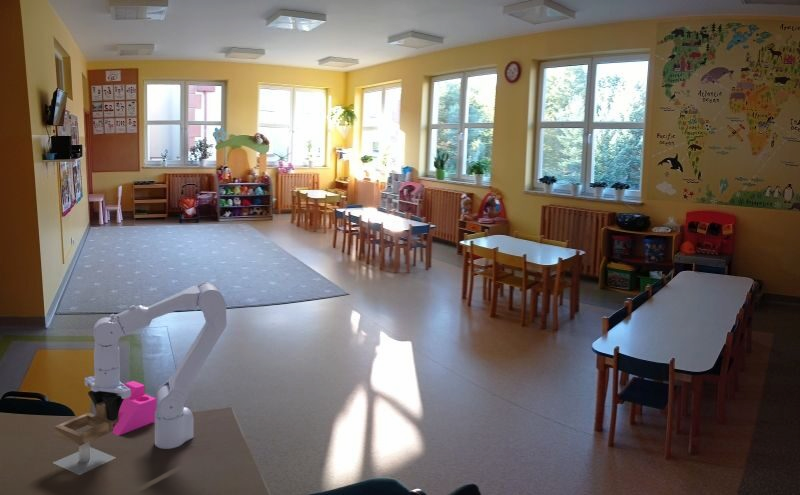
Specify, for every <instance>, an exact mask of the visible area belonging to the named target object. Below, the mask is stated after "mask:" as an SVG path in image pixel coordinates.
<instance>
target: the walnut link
mask: <svg viewBox="0 0 800 495" xmlns="http://www.w3.org/2000/svg"><path fill="white" fill-rule="evenodd" d="M95 411H96V414H93V413H91V412H86V413H84V414H82V415H79V416H77V417H74V418H72V419H69V420H67V421H64V422H62V423H60V424H57V425H55V426H54V437H55V438H59V439H62V440H64V441H65V442H66V441H67V442H68V443H71V444H73V445H75V446H78V447H79V446H81V445H84V444H86V443H88V442H90V443H91V442H92V441H94V440H96V439H98V438H101V437H103V436H106V435H108V434H110V433H112V431H113V428H114V425H116V424H117V422H119V413H118V417H117V420H114V421H110V420H108V419H107V411H106V406H105V403H104V401H103V402H100V403H98V404H96V408H95ZM115 423H116V424H115ZM86 426H90V427H91V428H88V429H86V430H85V431H84V430H83V431H82V432H80V431H78V430H79V429H82V428H84V427H86Z"/></svg>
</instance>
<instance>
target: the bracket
mask: <svg viewBox="0 0 800 495" xmlns="http://www.w3.org/2000/svg"><path fill="white" fill-rule="evenodd" d="M123 384H124V385H125V386H126V387H127V388H129V389H131V396H130V397H128V398H125V399H124V400H123V402H122V404H121V407H120V409H119V422H117V423H115V424H114V425H113V431H112V432H111V434H114V435H116V436H118V437H119V436H121V435H123V434H126V433H130V432H132V431H134V430H137V429H140V428H143V427H144V426H147V425H149V424H150V425H151V424H152V423H153V424H155V411H156V410H157V399H156V397H153V396H151V395H148V394H146V393H145V391H146V390H145V384H142V383H140V382H138V381H134V380H131V381H128V382H125V383H123Z"/></svg>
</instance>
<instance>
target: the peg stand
mask: <svg viewBox="0 0 800 495" xmlns="http://www.w3.org/2000/svg"><path fill="white" fill-rule="evenodd" d="M115 459H117V457H116V456H114V455H111V454H109V453H106V452H104V451H101V450H98V449H96V448H94V447H91V441H90V442H88V443H86V444H84V445H81V446H78V451H76V452H74V453H72V454H70V455H67V456H65V457H63V458H61V459H58V460H56V461H53V462H52V464H53V465H56V466H58V467H60V468H62V469H64V470H67V471H69V472H72V473H73V474H76V475H78V476H80V475H83V474H85V473H87V472H89V471H91V470H93V469H96V468H98V467H99V466H100V467H101V466H102V465H104V464H107V463H108V462H110V461H112V460H115Z"/></svg>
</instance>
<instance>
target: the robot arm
mask: <svg viewBox="0 0 800 495" xmlns="http://www.w3.org/2000/svg"><path fill="white" fill-rule="evenodd" d="M227 305H228V304H227V302H226V301H225V298H224V295H223V294H222V293H221V292H220V289H219V287H218V286H217V285H216V284H215V283H213V282H210V281H207V282H202V283H200V284H198V285H193V286H190V287H188V288H185V289H184V290H182V291H179V292H177V293H176V294H174V295H171V296H168V297H167V298H164V299H162V300H160V301H158V302H156V303H153V304H152V305H151V304H150V305H149V306H145V305H141V304H139V305H135V304H132V305H130V306H129V309H126V310H124V311H122V312H119V313H117V314H114V313H112V314H110V315H109V317H107V316H105V317H102V318H101V317H100V319H98V320H97V321H96V322H95V323H94V326H93V328H92V329H93V339H94V343H93V344H94V349H93V367H94V368H93V370H94V371H93V372H94V376H87V377H85V378H84V386H85V387H89V386H90V390H89V391H88V392H87V395H88V396H89V398H90V399H91V401H92V403H93V405H94V407H95V409H96V404H98V403H100V402H103V401H104V403H105V406H106V411H107V419H108V420H110V421H114V420H117V417H118V413H119V409H120V407H121V404H122V402H123V400H124V399H125V398H128V397H130V396H131V389H129V388H127V387H126V386H125V385H124V384H125V383H122V382H121V370H120V369H121V366H120V363H121V362H120V361H121V360H120V358H121V357H120V346H119V339H120V338H122V337H125V336H128V335H130V334H134V333H135V332H138V331H140V330H143V329H145V328H147V327H149V326H150V325H151V322H152V321H153V320H154V319H157V318H160V317H162V316H165V315H168V314H170V313H173V312H177V311H179V310H181V309H187V310H191V311H198V309H197V308H198V307H199V309H200V310H201V312H202V313H203V317H204V320H205V323H204V324H203V326H202V328H201V329H200V331H199V332H198V334H197V336H196V338H195V339H194V341H193V343H192V344H191V346H190V347H189V348H188V351H187V353H186V354H185V355H184V357H183V358H182V360H181V362H180V364H179V365H178V367H177V369H176V370H175V372H174V373H173V374H171V375H170V376H168V378H167V380H166V381H165V382H164V383H162V384H161V385H159V387H157V390H156V392H155V398H156V404H157V407H156V411H155V423H154V445H155V446H156V448H159V449H164V450H165V449H167V450H168V449H169V450H170V449H174V448H177V447H180V446H182V445H183V444H185V442H188V441H190V440H191V439H193V438H194V431H195V430H194V415H193V412H192V411H191V410H190V409H189V408H188V407H186V406H185V402H186V399H187V397H188V396H189V392H190V388H191V385H192V383H193V381H194V380H195V378H196V376H197V375H198V373H199V372H200V370H201V368H202V367H203V365H204V364H205V362H206V361H207V359H208V357H209V355H210V354H211V352H212V350H213V349H214V347H215V346H216V344H217V343H218V340H219V339H220V337H221V336H222V335H223V332H224V331H225V329H226V327H227V324H228V323H227V321H228V320H227V308H228V306H227Z"/></svg>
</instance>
